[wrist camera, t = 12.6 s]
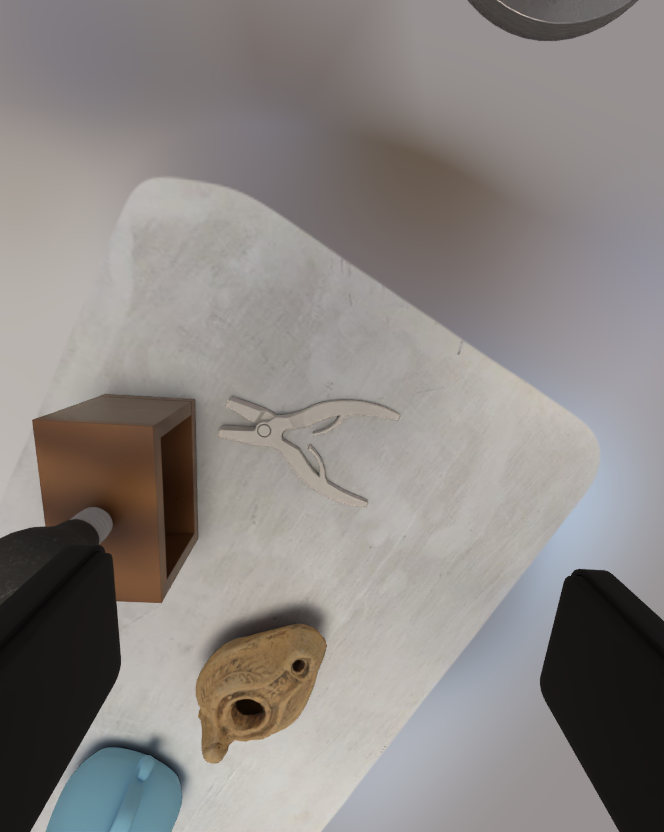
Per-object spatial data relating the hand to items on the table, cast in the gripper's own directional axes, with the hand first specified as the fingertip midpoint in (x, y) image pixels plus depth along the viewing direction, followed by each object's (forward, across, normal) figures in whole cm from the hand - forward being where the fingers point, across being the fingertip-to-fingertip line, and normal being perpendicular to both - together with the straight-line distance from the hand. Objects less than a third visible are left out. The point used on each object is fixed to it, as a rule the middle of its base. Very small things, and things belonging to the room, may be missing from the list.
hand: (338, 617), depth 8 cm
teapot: (+28, +21, +49) cm, 60 cm away
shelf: (+28, +16, +9) cm, 33 cm away
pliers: (+28, +2, +5) cm, 29 cm away
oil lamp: (+28, +5, +29) cm, 41 cm away
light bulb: (+19, +16, +9) cm, 26 cm away
